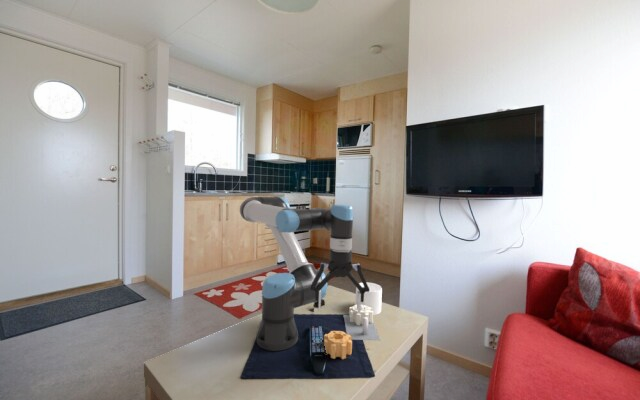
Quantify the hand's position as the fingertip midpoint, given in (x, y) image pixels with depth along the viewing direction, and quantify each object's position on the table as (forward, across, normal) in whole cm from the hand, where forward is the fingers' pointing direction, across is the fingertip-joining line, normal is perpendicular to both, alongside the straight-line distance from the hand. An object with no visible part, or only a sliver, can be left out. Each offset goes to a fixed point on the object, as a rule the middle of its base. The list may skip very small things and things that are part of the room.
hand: (339, 310), depth 93 cm
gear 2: (+13, +11, +19) cm, 26 cm away
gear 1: (+14, 0, 0) cm, 14 cm away
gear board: (+14, +10, +14) cm, 22 cm away
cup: (+14, +16, +30) cm, 37 cm away
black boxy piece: (+15, -6, +32) cm, 36 cm away
